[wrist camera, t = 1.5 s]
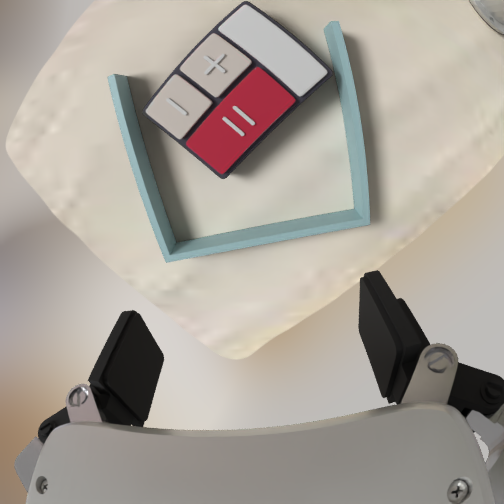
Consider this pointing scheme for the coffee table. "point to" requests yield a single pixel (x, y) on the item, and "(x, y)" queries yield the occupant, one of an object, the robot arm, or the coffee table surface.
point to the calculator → (235, 88)
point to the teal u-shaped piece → (259, 233)
